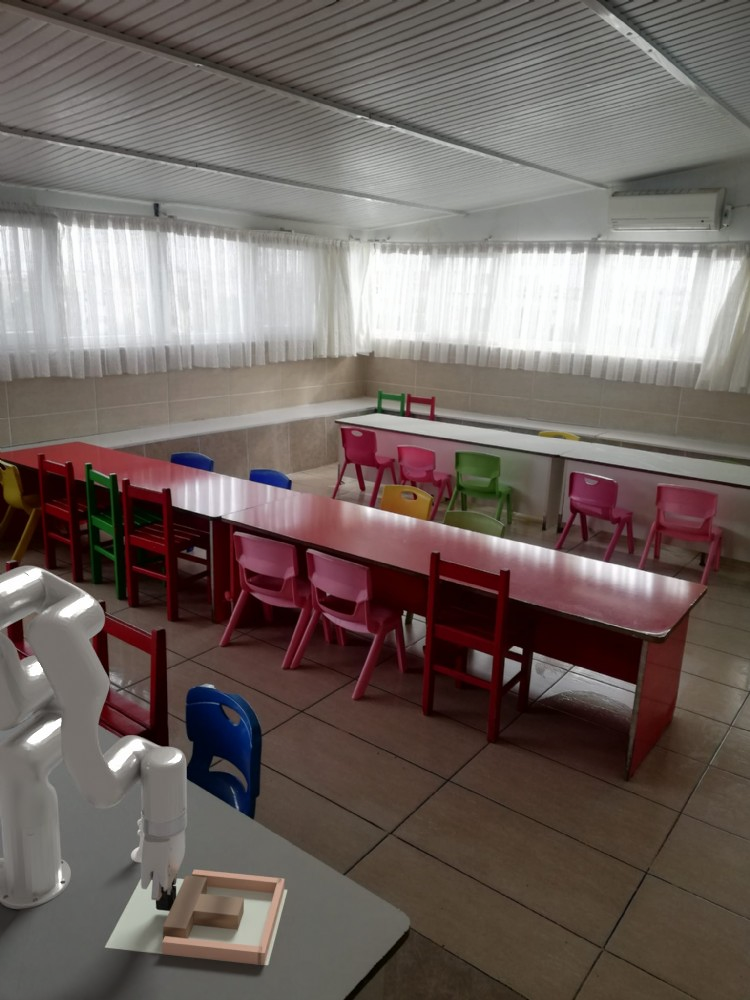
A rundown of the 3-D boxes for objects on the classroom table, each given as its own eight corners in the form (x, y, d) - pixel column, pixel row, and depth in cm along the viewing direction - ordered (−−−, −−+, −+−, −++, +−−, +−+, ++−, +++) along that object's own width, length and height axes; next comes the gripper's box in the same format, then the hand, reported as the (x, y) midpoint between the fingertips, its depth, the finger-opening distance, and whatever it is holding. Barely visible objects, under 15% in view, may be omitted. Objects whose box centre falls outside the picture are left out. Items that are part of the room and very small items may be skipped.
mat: (104, 950, 126) (104, 947, 126) (142, 877, 143) (142, 874, 142) (268, 968, 124) (268, 965, 124) (287, 892, 141) (287, 889, 141)
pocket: (162, 953, 125) (162, 941, 125) (194, 880, 142) (193, 869, 141) (264, 964, 124) (264, 953, 124) (284, 889, 141) (284, 878, 140)
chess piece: (129, 867, 145) (128, 822, 143) (130, 849, 150) (129, 806, 147) (156, 863, 146) (155, 819, 144) (156, 846, 151) (155, 803, 149)
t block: (163, 940, 128) (163, 926, 127) (185, 889, 140) (185, 875, 139) (231, 948, 127) (232, 933, 126) (249, 895, 139) (249, 882, 138)
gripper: (159, 789, 137) (160, 875, 141) (126, 845, 122) (129, 938, 126) (199, 793, 136) (199, 879, 140) (170, 850, 122) (172, 943, 126)
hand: (166, 907), depth 133 cm, fingers closed
